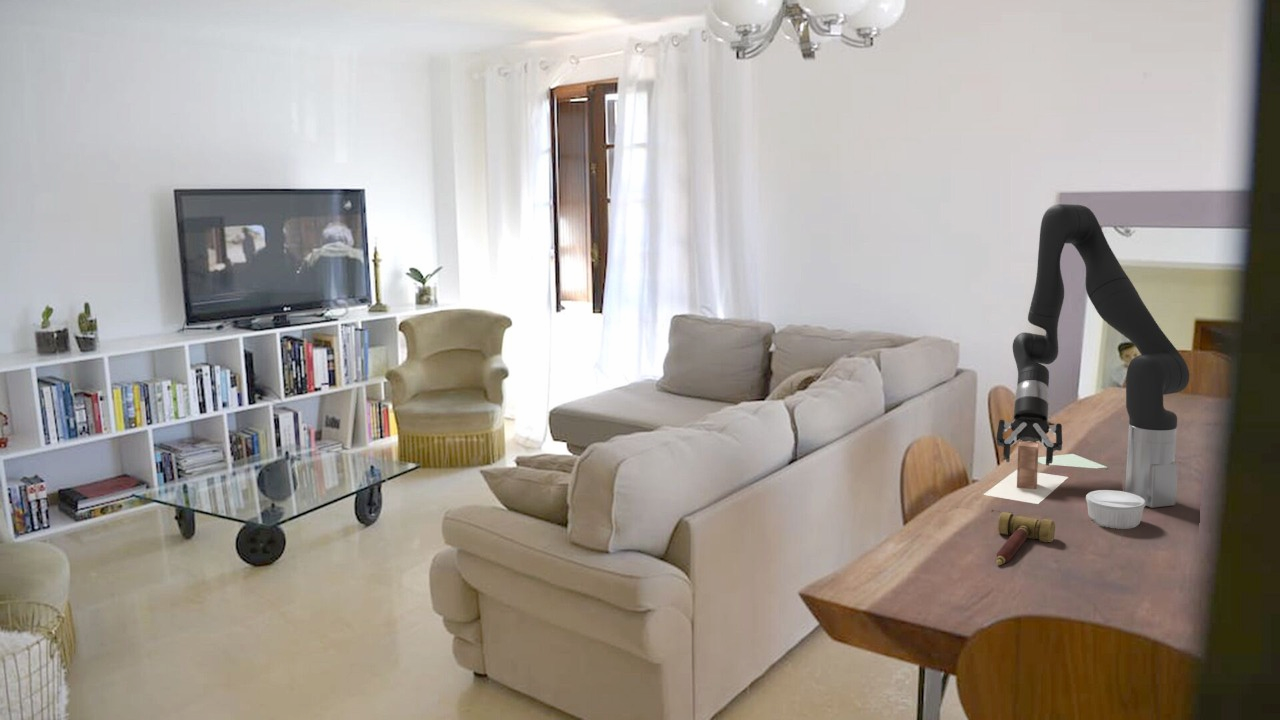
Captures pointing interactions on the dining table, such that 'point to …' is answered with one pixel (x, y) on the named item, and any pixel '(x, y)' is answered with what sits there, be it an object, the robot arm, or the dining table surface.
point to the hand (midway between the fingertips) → (1027, 462)
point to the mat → (1071, 461)
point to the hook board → (1035, 496)
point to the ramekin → (1115, 508)
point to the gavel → (1021, 533)
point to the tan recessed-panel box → (1027, 465)
